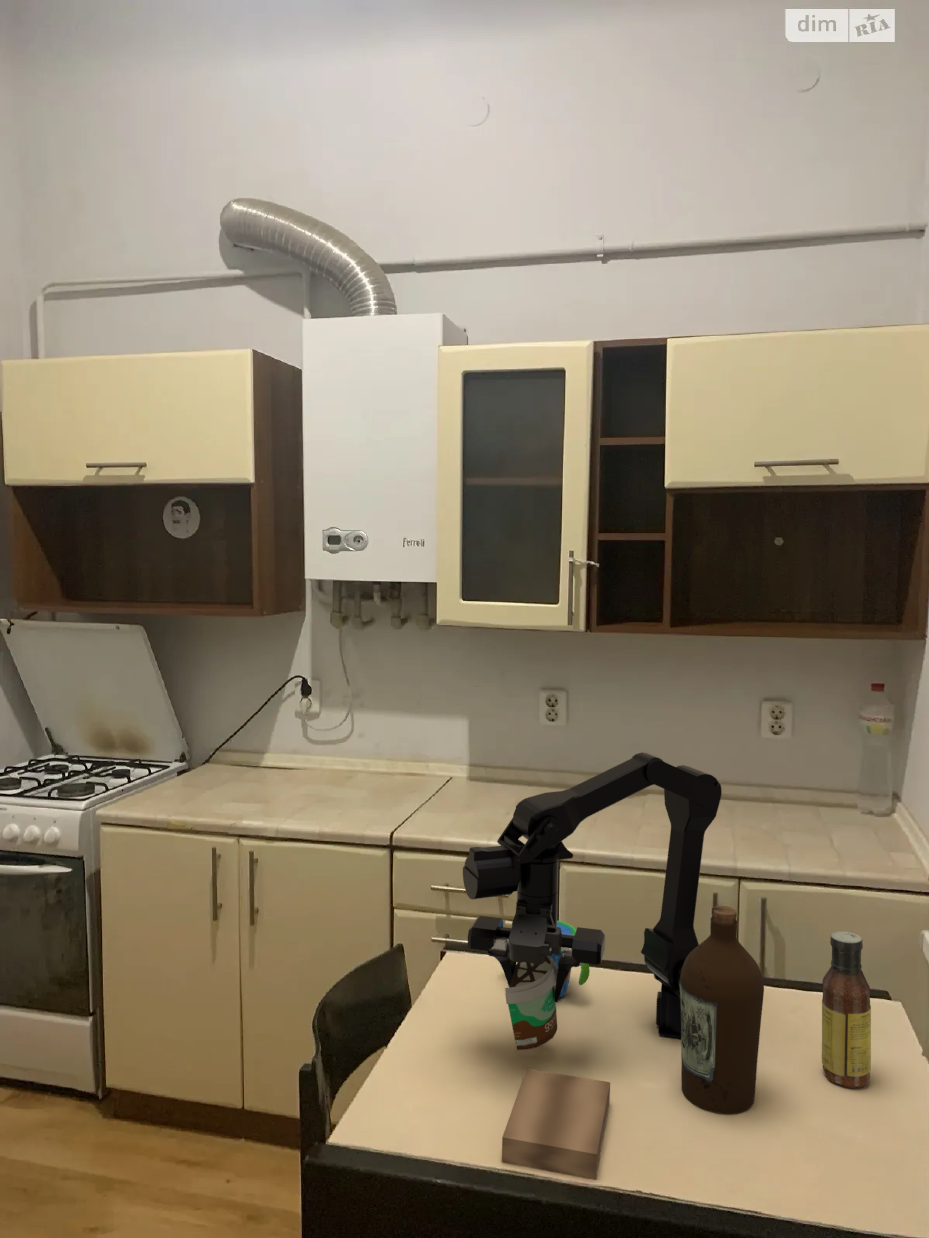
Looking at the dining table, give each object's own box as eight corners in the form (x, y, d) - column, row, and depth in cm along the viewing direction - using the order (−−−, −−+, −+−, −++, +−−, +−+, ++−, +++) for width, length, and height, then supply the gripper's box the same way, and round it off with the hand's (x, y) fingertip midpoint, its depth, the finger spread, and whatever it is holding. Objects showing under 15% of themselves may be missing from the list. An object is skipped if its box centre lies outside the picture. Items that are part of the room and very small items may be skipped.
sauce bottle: (870, 1071, 127) (877, 932, 126) (869, 1095, 122) (876, 949, 121) (820, 1060, 130) (826, 923, 129) (817, 1082, 125) (823, 940, 123)
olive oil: (722, 1064, 129) (728, 890, 127) (777, 1105, 119) (784, 918, 117) (660, 1081, 124) (666, 901, 123) (712, 1125, 115) (719, 931, 113)
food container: (559, 1057, 124) (548, 990, 122) (514, 1057, 125) (504, 990, 124) (570, 1004, 135) (561, 941, 134) (530, 1004, 137) (520, 942, 135)
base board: (609, 1104, 119) (610, 1081, 119) (596, 1179, 104) (596, 1153, 104) (526, 1090, 122) (526, 1068, 121) (501, 1161, 107) (502, 1136, 107)
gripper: (458, 903, 123) (456, 1016, 124) (597, 919, 118) (594, 1036, 119) (478, 875, 134) (476, 979, 135) (606, 889, 129) (603, 997, 130)
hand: (535, 998), depth 129 cm, fingers closed on food container, 6 cm apart
